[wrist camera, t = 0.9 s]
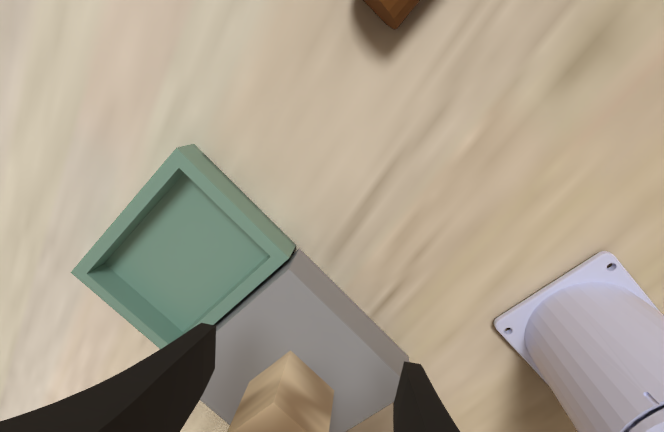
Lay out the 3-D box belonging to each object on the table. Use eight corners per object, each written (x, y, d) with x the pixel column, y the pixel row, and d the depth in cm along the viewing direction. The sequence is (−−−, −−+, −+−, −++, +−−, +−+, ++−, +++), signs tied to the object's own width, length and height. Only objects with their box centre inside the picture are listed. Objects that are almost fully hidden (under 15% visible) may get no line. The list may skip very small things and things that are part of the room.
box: (296, 245, 23) (289, 258, 21) (187, 341, 26) (173, 360, 24) (193, 143, 21) (176, 147, 19) (93, 259, 25) (70, 272, 23)
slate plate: (408, 356, 24) (413, 389, 22) (292, 433, 28) (283, 470, 25) (299, 248, 23) (288, 269, 20) (190, 344, 26) (168, 373, 23)
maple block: (334, 390, 22) (326, 449, 18) (291, 419, 23) (276, 479, 20) (290, 350, 22) (273, 402, 18) (249, 381, 23) (225, 436, 19)
